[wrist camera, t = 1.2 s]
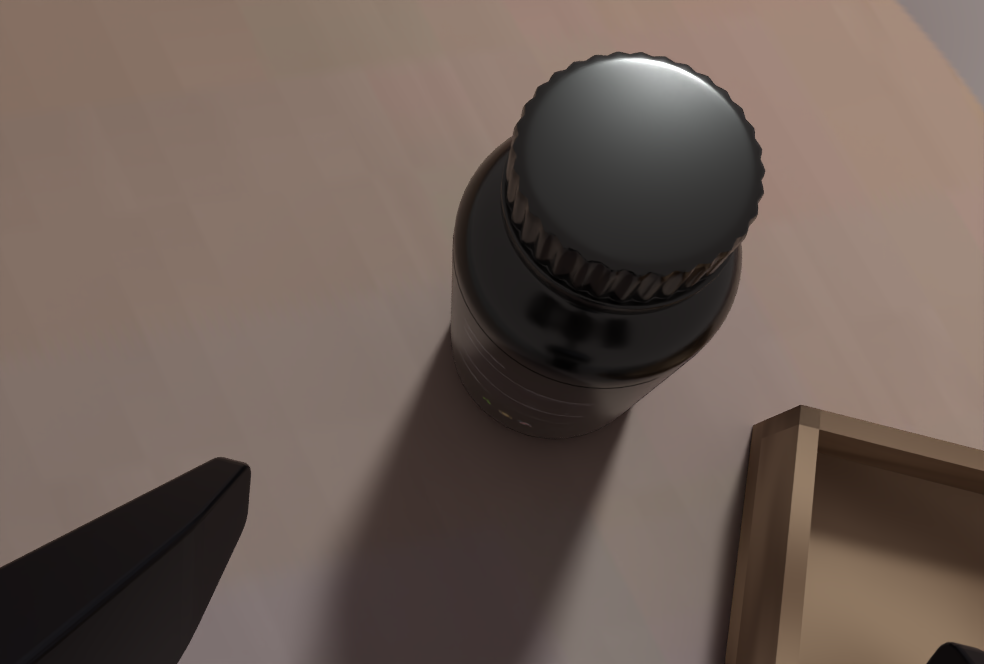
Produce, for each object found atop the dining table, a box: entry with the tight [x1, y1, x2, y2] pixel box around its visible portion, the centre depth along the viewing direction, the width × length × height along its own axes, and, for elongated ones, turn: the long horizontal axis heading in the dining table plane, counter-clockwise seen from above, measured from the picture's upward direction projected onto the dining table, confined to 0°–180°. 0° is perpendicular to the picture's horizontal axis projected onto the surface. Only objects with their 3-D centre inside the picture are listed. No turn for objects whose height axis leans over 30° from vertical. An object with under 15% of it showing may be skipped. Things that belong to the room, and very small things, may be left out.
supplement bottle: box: [451, 52, 765, 439], centre depth 19 cm, size 7×7×12 cm
